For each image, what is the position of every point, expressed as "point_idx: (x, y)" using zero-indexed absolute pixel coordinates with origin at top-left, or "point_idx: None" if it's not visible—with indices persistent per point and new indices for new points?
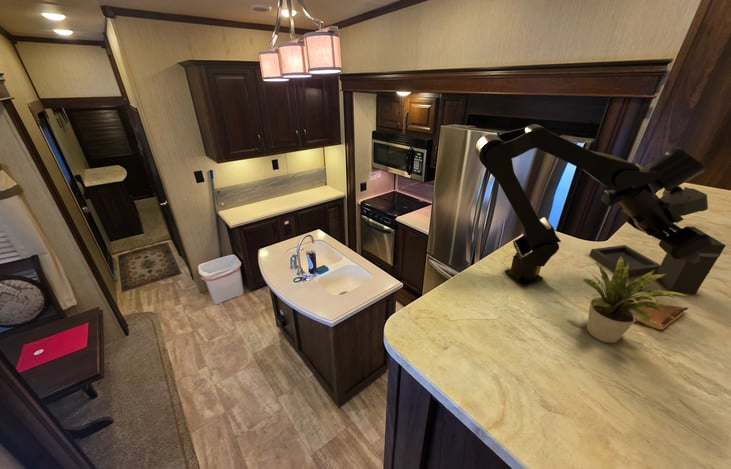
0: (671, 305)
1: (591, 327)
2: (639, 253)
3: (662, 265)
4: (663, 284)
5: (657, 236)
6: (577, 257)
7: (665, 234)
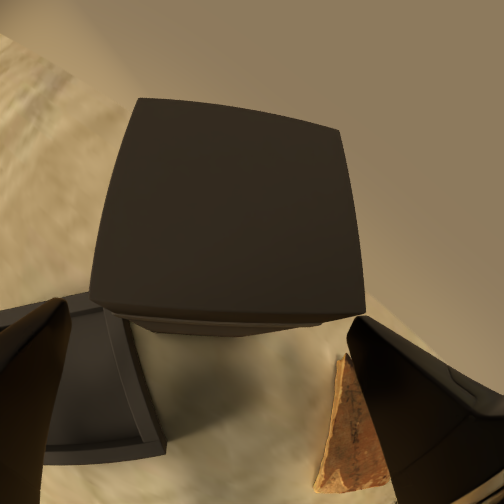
0: (341, 393)
1: None
2: (29, 308)
3: (156, 329)
4: (204, 335)
5: (53, 382)
6: (57, 495)
7: (45, 331)
